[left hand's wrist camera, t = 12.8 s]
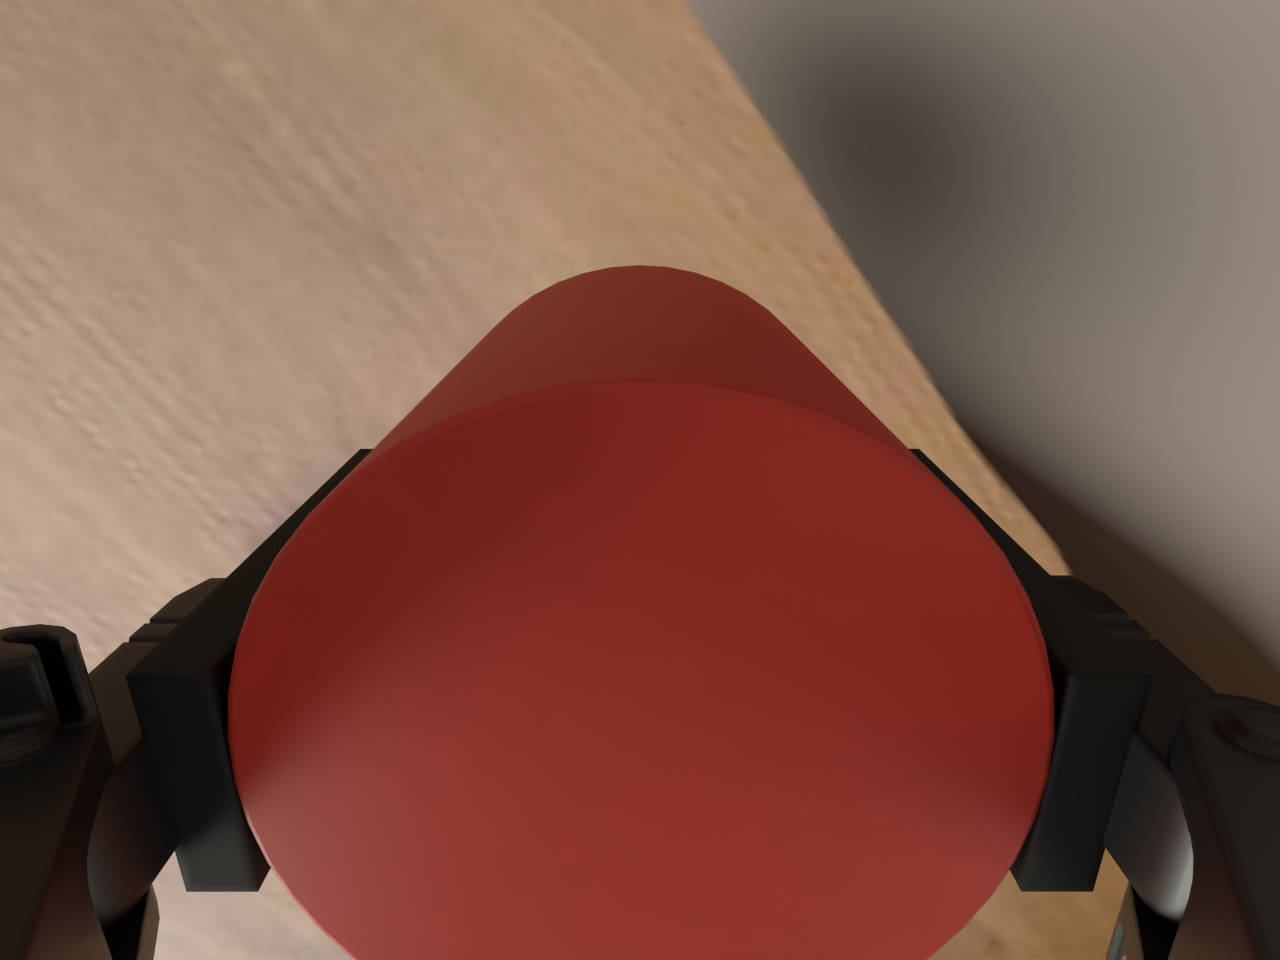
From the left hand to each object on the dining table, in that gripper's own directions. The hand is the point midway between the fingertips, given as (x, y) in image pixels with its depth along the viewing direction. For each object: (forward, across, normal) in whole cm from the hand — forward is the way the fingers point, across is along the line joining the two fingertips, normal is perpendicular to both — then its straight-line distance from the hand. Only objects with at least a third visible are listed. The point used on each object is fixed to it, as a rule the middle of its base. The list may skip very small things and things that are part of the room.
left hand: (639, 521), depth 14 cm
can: (+3, 0, 0) cm, 3 cm away
